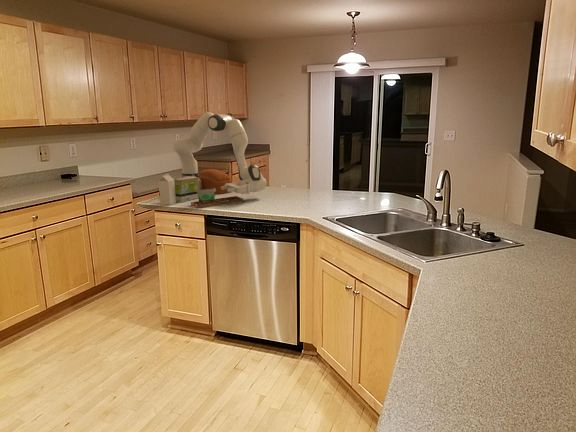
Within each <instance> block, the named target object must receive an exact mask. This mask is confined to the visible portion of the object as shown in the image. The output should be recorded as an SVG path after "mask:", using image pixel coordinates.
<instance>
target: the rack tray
mask: <svg viewBox="0 0 576 432" xmlns="http://www.w3.org/2000/svg"><path fill="white" fill-rule="evenodd" d="M234 199H235V200H234ZM227 200H228V201H227ZM243 202H244V198H242V197H239V196H237V195H235V196H227V197H221V198H219V197H218V198H215V202H214V203H207V204H199V200H197V201H190V206H191V207H194V208H196V209H203V208H209V207H210V208H211V207H217V206H223V205H231V204H237V203H243Z"/></svg>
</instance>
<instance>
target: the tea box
mask: <svg viewBox="0 0 576 432" xmlns="http://www.w3.org/2000/svg"><path fill="white" fill-rule="evenodd" d="M172 178H173V177H172ZM173 179H174V182H175V195H176V202H179V203H180V202H181V203H183V202H188V201H192V200H194V201H195V200H199V199H198V193H197V192H196V190H197V189H199V183H198V177H192V176H187V177H181V176H180V177H174V178H173Z"/></svg>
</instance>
